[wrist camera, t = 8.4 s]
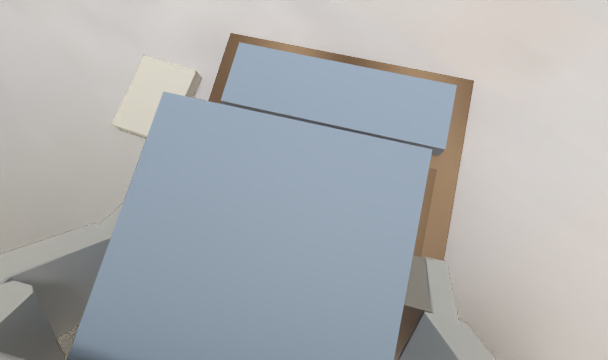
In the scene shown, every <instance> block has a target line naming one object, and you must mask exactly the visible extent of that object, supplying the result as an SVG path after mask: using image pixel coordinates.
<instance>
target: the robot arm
mask: <svg viewBox="0 0 608 360" xmlns="http://www.w3.org/2000/svg"><path fill="white" fill-rule="evenodd" d="M122 205H123V204H122ZM122 205H121V206H120V207H118V208H117V209H116V210H115V211H114V212H113V213H112V214H111V215H109V216H108V217H107V218H106V219H105V220H104V221H103V222H101V223H100V224H99V225H97V224H90V225H87V226H84V227H81V228H78V229H75V230H71V231H68V232H65V233H62V234H59V235H56V236H53V237H50V238H47V239H44V240H41V241H38V242H35V243H32V244H29V245H26V246H23V247H20V248H17V249H14V250H11V251H8V252H5V253H2V254H0V360H65V355H64V353H63V351H62V348H61V346H60V344H59V342H58V340H57V338H58V337H60V336H61V335H63V334H64V333H66V332H68V331H69V330H71V329H73V328H74V327H76V326H78V325H79V324H80V322H81V319H82V317H83V314H84V311H85V308H86V305H87V303H88V300H89V297H90V294H91V291H92V289H93V286H94V283H95V280H96V278H97V275H98V272H99V269H100V266H101V264H102V261H103V258H104V255H105V253H106V250H107V247H108V244H109V241H110V239H111V236H112V233H113V230H114V227H115V225H116V222H117V219H118V216H119V214H120V211H121V208H122ZM394 360H496V359H495V358H494V356H493V355H492V354H491V353H490V352H489V350H488V349H487V348H486V347H485V345H484V344H483V343H482V342H481V341H480V339H479V338H478V337H477V336H476V335H475V333H474V332H473V331H472V330H471V328H470V327H469V326H468V325H467V324H466V323H465V322H462V321H459V320H458V315H457V309H456V304H455V299H454V294H453V289H452V283H451V278H450V273H449V268H448V264H447V263H446V261H443V260H438V259H434V258H430V257H425V256H423V257H422V256H420V255H415V254H413V258H412V264H411V269H410V274H409V280H408V285H407V291H406V296H405V302H404V307H403V312H402V318H401V323H400V329H399V334H398V340H397V345H396V351H395V356H394Z"/></svg>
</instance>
